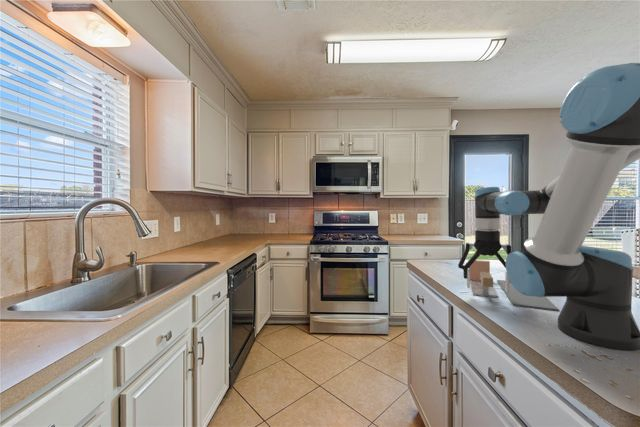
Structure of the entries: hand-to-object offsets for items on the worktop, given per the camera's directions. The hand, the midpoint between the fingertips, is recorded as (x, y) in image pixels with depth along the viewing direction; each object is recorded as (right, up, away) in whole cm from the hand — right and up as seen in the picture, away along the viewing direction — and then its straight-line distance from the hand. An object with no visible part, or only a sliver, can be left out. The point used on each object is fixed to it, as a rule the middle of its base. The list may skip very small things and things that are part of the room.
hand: (487, 289), depth 94 cm
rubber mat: (+17, -3, +5) cm, 18 cm away
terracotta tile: (+11, -3, +23) cm, 26 cm away
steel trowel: (+3, -4, +7) cm, 8 cm away
